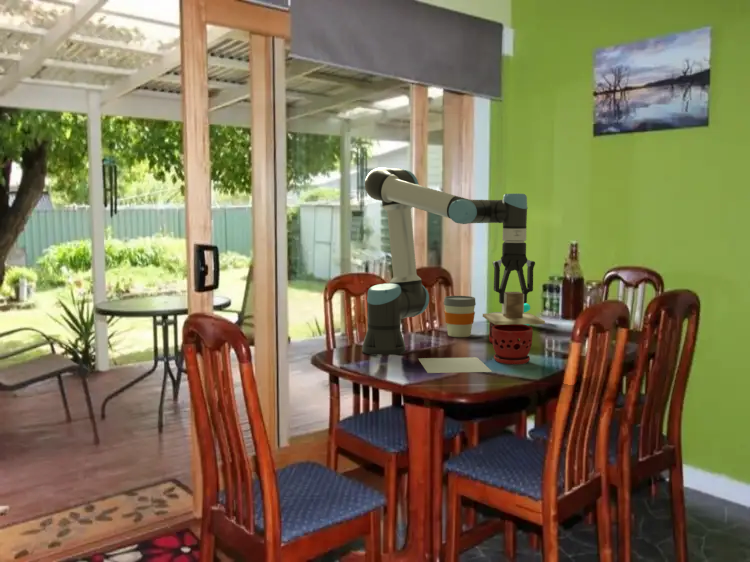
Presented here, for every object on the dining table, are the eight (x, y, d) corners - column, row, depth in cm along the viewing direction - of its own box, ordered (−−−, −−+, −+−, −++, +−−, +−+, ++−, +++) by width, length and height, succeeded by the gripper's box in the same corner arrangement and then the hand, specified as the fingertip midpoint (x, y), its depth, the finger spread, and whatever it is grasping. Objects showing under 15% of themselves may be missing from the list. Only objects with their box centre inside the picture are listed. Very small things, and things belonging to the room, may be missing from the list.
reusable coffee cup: (437, 335, 268) (438, 298, 267) (451, 331, 279) (452, 294, 277) (467, 339, 262) (467, 300, 260) (480, 334, 272) (480, 297, 271)
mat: (427, 374, 206) (427, 372, 206) (417, 359, 226) (417, 358, 226) (492, 373, 208) (492, 371, 207) (477, 358, 227) (477, 357, 227)
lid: (494, 324, 212) (495, 296, 211) (482, 316, 228) (483, 289, 227) (544, 323, 213) (545, 295, 212) (529, 315, 229) (529, 289, 228)
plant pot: (486, 358, 228) (487, 323, 227) (524, 357, 229) (525, 322, 228) (497, 367, 215) (497, 330, 214) (537, 366, 216) (538, 329, 215)
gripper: (489, 242, 214) (488, 315, 216) (545, 242, 215) (543, 314, 218) (483, 241, 221) (482, 312, 223) (537, 241, 223) (536, 311, 225)
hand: (512, 313), depth 220 cm, fingers closed on lid, 5 cm apart
